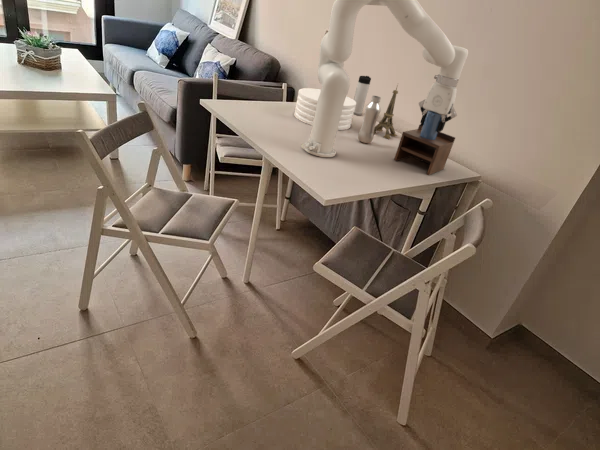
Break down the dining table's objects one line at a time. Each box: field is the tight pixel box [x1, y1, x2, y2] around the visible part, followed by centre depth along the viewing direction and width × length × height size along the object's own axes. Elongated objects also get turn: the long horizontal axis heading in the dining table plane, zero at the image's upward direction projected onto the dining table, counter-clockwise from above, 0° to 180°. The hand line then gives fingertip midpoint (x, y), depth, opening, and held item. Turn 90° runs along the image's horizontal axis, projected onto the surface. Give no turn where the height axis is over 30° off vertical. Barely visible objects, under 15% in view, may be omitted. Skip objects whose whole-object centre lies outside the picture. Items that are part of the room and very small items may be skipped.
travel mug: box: [353, 75, 372, 116], centre depth 225 cm, size 6×7×20 cm
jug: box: [420, 110, 442, 140], centre depth 164 cm, size 10×6×10 cm, turn 138°
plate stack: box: [293, 87, 356, 131], centre depth 201 cm, size 28×28×12 cm
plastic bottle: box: [357, 95, 382, 144], centre depth 180 cm, size 6×7×20 cm
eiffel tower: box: [374, 84, 399, 140], centre depth 198 cm, size 11×11×25 cm
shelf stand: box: [393, 124, 456, 176], centre depth 169 cm, size 14×16×14 cm
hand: (430, 128), depth 164 cm, fingers closed on jug, 6 cm apart
